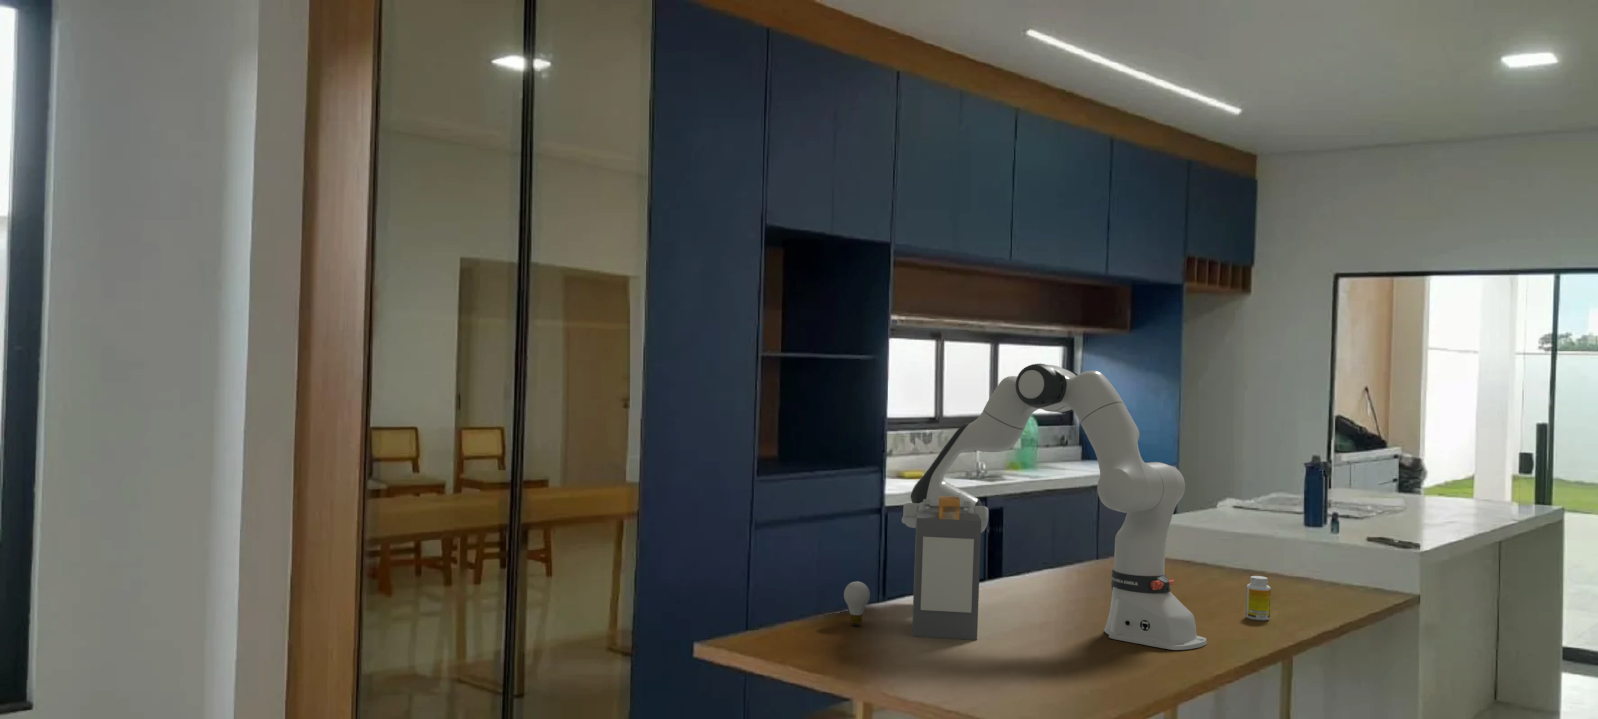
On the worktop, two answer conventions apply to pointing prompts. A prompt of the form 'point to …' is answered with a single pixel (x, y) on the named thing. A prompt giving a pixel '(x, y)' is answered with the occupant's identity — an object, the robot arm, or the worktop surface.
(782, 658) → the worktop surface
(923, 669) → the worktop surface
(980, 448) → the robot arm
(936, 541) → the cabinet
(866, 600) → the light bulb
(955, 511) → the bar
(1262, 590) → the supplement bottle
